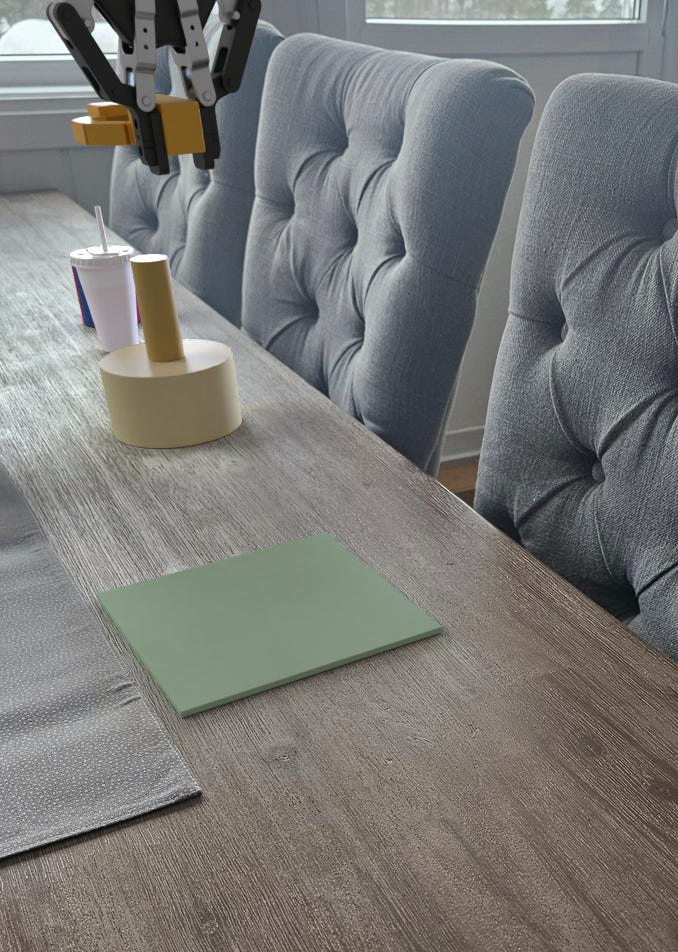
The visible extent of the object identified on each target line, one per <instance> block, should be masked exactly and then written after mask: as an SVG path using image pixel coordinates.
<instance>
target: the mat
mask: <svg viewBox="0 0 678 952" xmlns="http://www.w3.org/2000/svg"><path fill="white" fill-rule="evenodd" d="M95 596H96V599H97V601H98V603H99V604H100V605H101V606H102V608H103V610H104V611H105V612H106V614H107V615H108V616H109V618H110V619H111V620H112V622H113V624H114V625H115V627H116V628H117V629H118V631H119V632H120V633H121V635H122V636H123V637H124V639H125V640H126V642H127V644H128V645H129V646H130V647H131V649H132V651H133V652H134V653H135V655H136V656H137V657H138V659H139V660H140V661H141V663H142V664H143V665H144V667H145V669H146V670H147V671H148V673H149V674H150V676H151V677H152V679H153V680H154V681H155V683H156V684H157V685H158V687H159V688H160V689H161V691H162V693H163V694H164V695H165V697H166V698H167V699H168V701H169V703H170V704H171V705H172V707H173V708H174V709H175V711H176V712H177V713H178V714H179V716H180V718H181V719H183V718H186V717H189V716H193V715H195V714H198V713H201V712H205V711H207V710H211V709H214V708H216V707H220V706H223V705H225V704H229V703H231V702H235V701H238V700H241V699H244V698H247V697H250V696H253V695H257V694H259V693H263V692H265V691H268V690H272V689H274V688H277V687H280V686H283V685H287V684H289V683H292V682H295V681H299V680H301V679H305V678H308V677H311V676H315V675H317V674H320V673H323V672H326V671H329V670H333V669H336V668H339V667H342V666H345V665H347V664H350V663H351V664H352V663H353V662H357V661H360V660H362V659H365V658H368V657H372V656H375V655H377V654H381V653H383V652H386V651H390V650H393V649H396V648H399V647H402V646H405V645H408V644H412V643H414V642H417V641H420V640H423V639H428V638H429V637H432V636H436V635H438V634H442V633H443V626H442V625H440V624H439V623H438V622H437V621H436V620H434V619H433V618H432V617H431V616H430V615H428V614H427V613H426V612H424V611H423V610H422V609H421V608H420V607H418V606H417V605H416V604H415V603H414V602H412V601H411V600H410V599H409V598H407V597H406V596H405V595H404V594H403V593H401V592H400V591H399V590H398V589H396V588H395V587H394V586H393V585H391V583H389V582H388V581H387V580H386V579H385V578H383V577H382V576H380V574H378V573H377V572H376V571H375V570H373V569H372V568H371V567H370V566H368V564H366V563H365V562H364V561H363V560H362V559H360V558H359V557H358V556H356V555H355V554H354V553H353V552H351V551H350V550H349V549H348V548H347V547H345V546H344V545H343V544H342V543H340V541H338V540H337V539H335V537H333V536H332V535H331V534H329V533H328V532H327V531H324V532H320V533H316V534H312V535H309V536H305V537H301V538H297V539H293V540H289V541H287V542H283V543H279V544H275V545H272V546H268V547H264V548H260V549H256V550H253V551H249V552H246V553H241V554H238V555H234V556H231V557H226V558H223V559H220V560H215V561H213V562H209V563H205V564H201V565H197V566H194V567H189V568H186V569H182V570H179V571H175V572H171V573H167V574H164V575H160V576H156V577H152V578H149V579H145V580H141V581H137V582H134V583H130V584H127V585H124V586H123V585H122V586H119V587H116V588H112V589H108V590H105V591H100V592H96V593H95Z"/></svg>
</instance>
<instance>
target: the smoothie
mask: <svg viewBox="0 0 678 952" xmlns="http://www.w3.org/2000/svg"><path fill="white" fill-rule="evenodd" d="M93 208H94V214H95V218H96V223H97V229H98V234H99V238H100V239H99V240H100V243H101V245H98V246H90V247H85V248H81V249H77V250H74V251H73V252H71V253H70V255H69V256H70V261H72V263H71V262H70V266H71V265H72V266H74V267H76V270H77V273H78V276H79V279H80V283H81V285H82V288H83V291H84V294H85V297H86V300H87V303H88V306H89V309H90V312H91V315H92V318H93V321H94V324H95V327H94V328H95V330H96V333H97V336H98V339H99V342H100V345H101V348H102V351H104V352H106V353H111V352H114V351H116V350H118V349H121V348H124V347H128V346H131V345H135V344H140V343H139V328H138V327H139V326H138V322H137V310H136V294H135V284H134V279H133V274H132V268H131V263H130V259H131V258H133V257H136V253H135V249H134V248H133V247H131V246H127V245H113V244H112V245H111V244H110V245H108V242H107V235H106V230H105V225H104V220H103V214H102V210H101V206H100V205H95V206H93ZM72 266H71V267H72Z"/></svg>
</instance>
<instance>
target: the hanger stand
mask: <svg viewBox="0 0 678 952" xmlns="http://www.w3.org/2000/svg"><path fill="white" fill-rule="evenodd" d="M130 263H131V268H132V274H133V279H134V284H135V290H136V295H137V301H138V306H139V312H140V317H141V321H140V322H141V327H142V333H143V339H144V342H141V343H139V344H135V345H131V346H128V347H124V348H121V349H118V350H116V351H114V352H109V353H108V354H106V355H105V356H103V357H102V358H100V361H99V363H98V366H99V371H100V377H101V381H102V386H103V390H104V395H105V401H106V404H107V410H108V415H109V419H110V425H111V429H112V434H113V436H114V437H115V439H116V440H117V441H119V442H121V443H123V444H124V445H128V446H133V447H138V448H145V449H174V448H184V447H192V446H196V445H201V444H206V443H208V442H212V441H216V440H218V439H222V438H224V437H226V436H228V435H230V434H231V433H233V432H235V431H236V430H237V429H239V427H240V426H241V425H242V423H243V415H242V407H241V401H240V395H239V388H238V387H239V386H238V380H237V372H236V367H235V359H234V352H233V349H232V348H231V347H230V346H229V345H227V344H225V343H222V342H219V341H214V340H211V339H201V338H183V337H182V331H181V325H180V320H179V314H178V307H177V300H176V296H175V295H176V294H175V288H174V283H173V278H172V276H173V275H172V271H171V264H170V260H169V256H168V255H166V254H163V253H162V254H161V253H148V254H141V255H135V257H133V258H131V259H130Z"/></svg>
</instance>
